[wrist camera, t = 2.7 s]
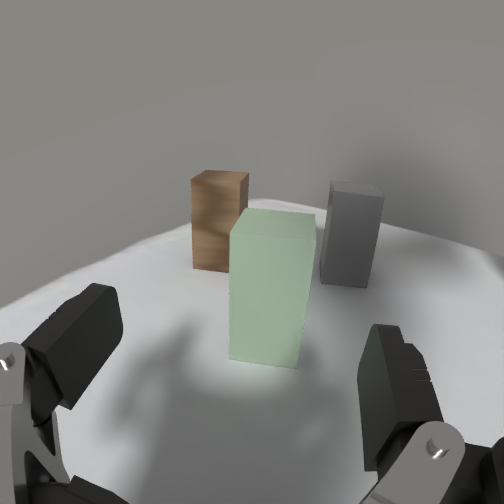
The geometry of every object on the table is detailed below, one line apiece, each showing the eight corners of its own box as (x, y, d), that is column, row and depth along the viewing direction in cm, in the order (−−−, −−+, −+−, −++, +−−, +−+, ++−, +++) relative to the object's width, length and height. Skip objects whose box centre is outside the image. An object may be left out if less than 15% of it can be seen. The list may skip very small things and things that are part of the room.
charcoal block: (360, 266, 38) (374, 186, 33) (366, 287, 33) (384, 197, 29) (320, 262, 38) (330, 180, 34) (321, 283, 34) (334, 190, 30)
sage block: (299, 327, 27) (315, 214, 23) (296, 368, 22) (316, 241, 18) (241, 320, 28) (245, 207, 23) (228, 359, 23) (229, 232, 19)
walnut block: (245, 254, 40) (249, 172, 35) (237, 273, 35) (240, 182, 31) (206, 250, 40) (205, 170, 36) (193, 268, 36) (190, 179, 31)
